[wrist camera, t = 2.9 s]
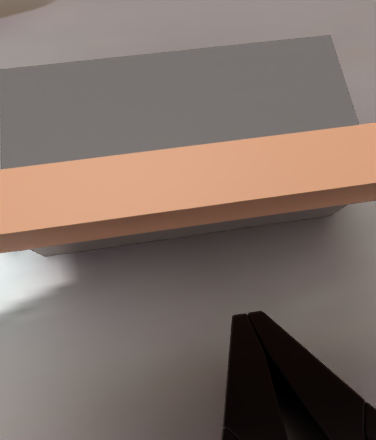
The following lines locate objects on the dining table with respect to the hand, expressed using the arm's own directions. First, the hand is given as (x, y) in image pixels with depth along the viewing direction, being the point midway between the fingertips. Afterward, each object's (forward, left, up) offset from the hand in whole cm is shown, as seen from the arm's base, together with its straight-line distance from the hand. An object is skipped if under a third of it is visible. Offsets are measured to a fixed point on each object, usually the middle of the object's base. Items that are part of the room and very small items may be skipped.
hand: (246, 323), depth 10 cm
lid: (+3, -4, -2) cm, 5 cm away
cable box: (+10, -6, -13) cm, 18 cm away
